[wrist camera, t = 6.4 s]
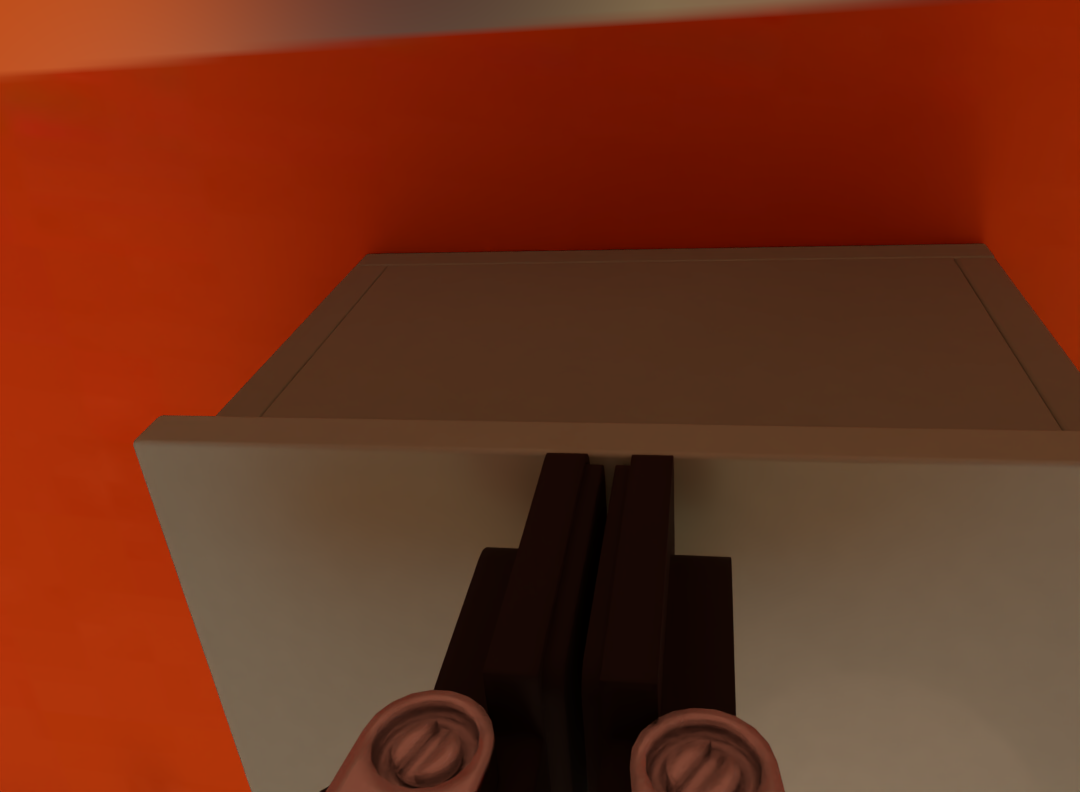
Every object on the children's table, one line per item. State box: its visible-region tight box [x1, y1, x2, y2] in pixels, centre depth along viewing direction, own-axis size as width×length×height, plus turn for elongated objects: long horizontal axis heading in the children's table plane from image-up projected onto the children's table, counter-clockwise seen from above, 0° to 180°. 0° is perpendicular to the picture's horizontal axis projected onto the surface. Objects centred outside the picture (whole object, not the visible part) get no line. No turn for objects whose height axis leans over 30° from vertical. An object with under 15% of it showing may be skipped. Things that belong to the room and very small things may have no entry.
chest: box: [216, 244, 1080, 431], centre depth 20 cm, size 16×14×9 cm
